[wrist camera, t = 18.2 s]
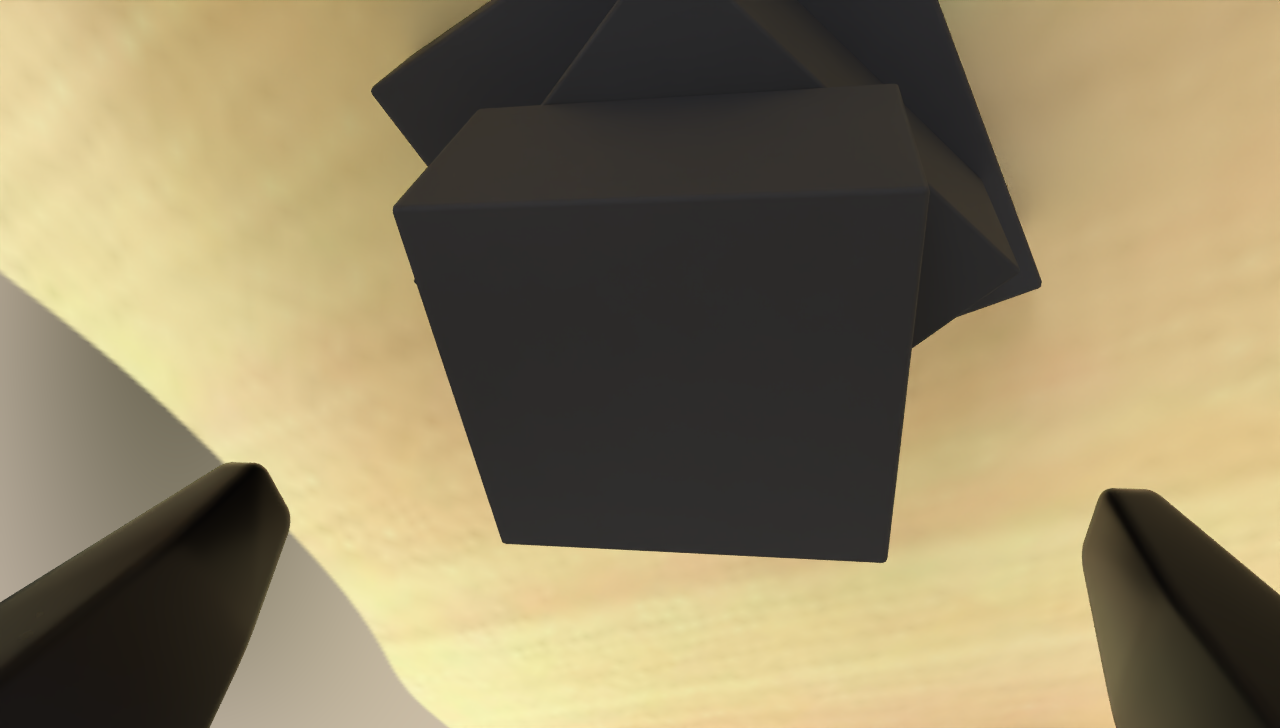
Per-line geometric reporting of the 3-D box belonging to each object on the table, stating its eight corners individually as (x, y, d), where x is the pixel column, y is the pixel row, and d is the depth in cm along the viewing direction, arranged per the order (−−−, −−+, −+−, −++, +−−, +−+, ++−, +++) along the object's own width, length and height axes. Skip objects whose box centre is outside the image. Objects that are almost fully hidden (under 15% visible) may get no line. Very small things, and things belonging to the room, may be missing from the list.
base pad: (841, -245, 12) (848, -244, 10) (1020, 235, 16) (1044, 288, 14) (409, 56, 16) (366, 91, 14) (644, 379, 20) (631, 433, 18)
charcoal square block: (692, -102, 11) (665, -63, 9) (983, 180, 13) (1022, 272, 11) (471, 199, 15) (411, 282, 13) (723, 388, 17) (712, 490, 15)
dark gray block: (899, 81, 10) (931, 188, 7) (870, 418, 13) (887, 564, 11) (476, 107, 11) (388, 207, 8) (550, 412, 14) (501, 545, 12)
